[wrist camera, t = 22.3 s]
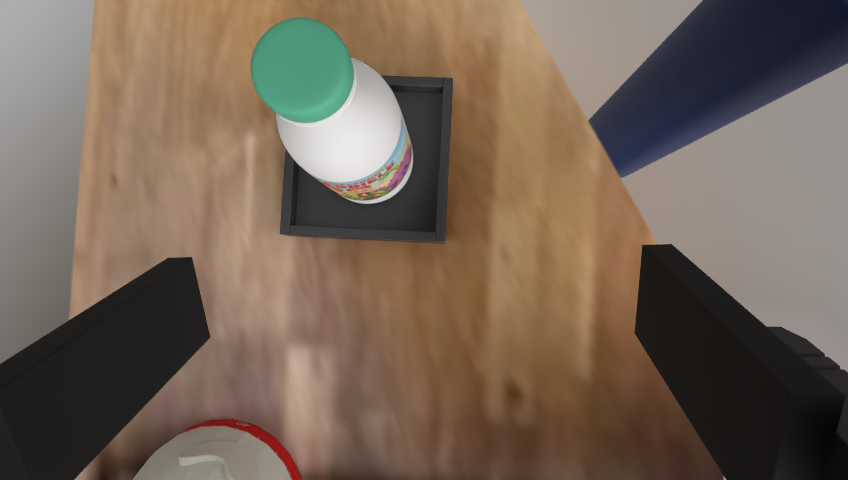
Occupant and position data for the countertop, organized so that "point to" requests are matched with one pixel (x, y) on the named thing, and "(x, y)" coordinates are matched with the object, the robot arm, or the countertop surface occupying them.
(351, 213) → the dock tray
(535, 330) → the countertop surface
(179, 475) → the kitchen timer
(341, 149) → the milk bottle
